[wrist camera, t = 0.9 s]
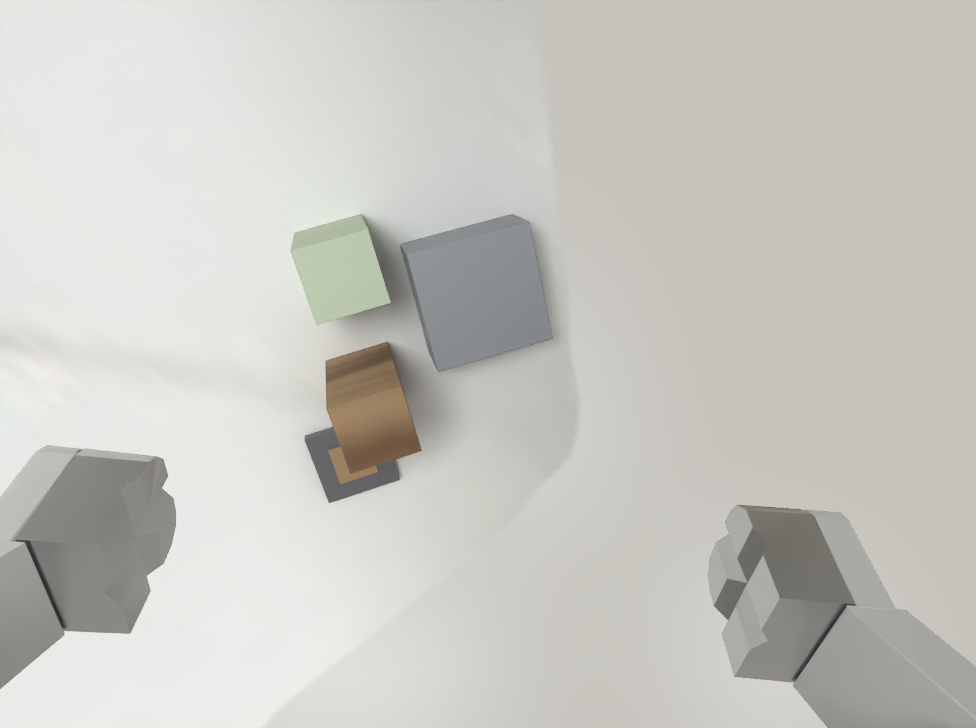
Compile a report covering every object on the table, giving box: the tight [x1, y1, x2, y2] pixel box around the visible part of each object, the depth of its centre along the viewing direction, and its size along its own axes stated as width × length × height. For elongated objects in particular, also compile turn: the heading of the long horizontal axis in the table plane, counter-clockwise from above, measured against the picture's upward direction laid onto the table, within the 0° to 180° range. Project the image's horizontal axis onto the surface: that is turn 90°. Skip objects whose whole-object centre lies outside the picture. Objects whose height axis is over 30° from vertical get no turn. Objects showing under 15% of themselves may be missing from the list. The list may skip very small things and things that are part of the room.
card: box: [305, 427, 399, 503], centre depth 57 cm, size 6×6×1 cm
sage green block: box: [291, 214, 391, 325], centre depth 49 cm, size 5×5×8 cm
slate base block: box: [400, 214, 553, 372], centre depth 53 cm, size 9×9×5 cm
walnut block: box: [326, 342, 422, 474], centre depth 51 cm, size 5×5×10 cm
